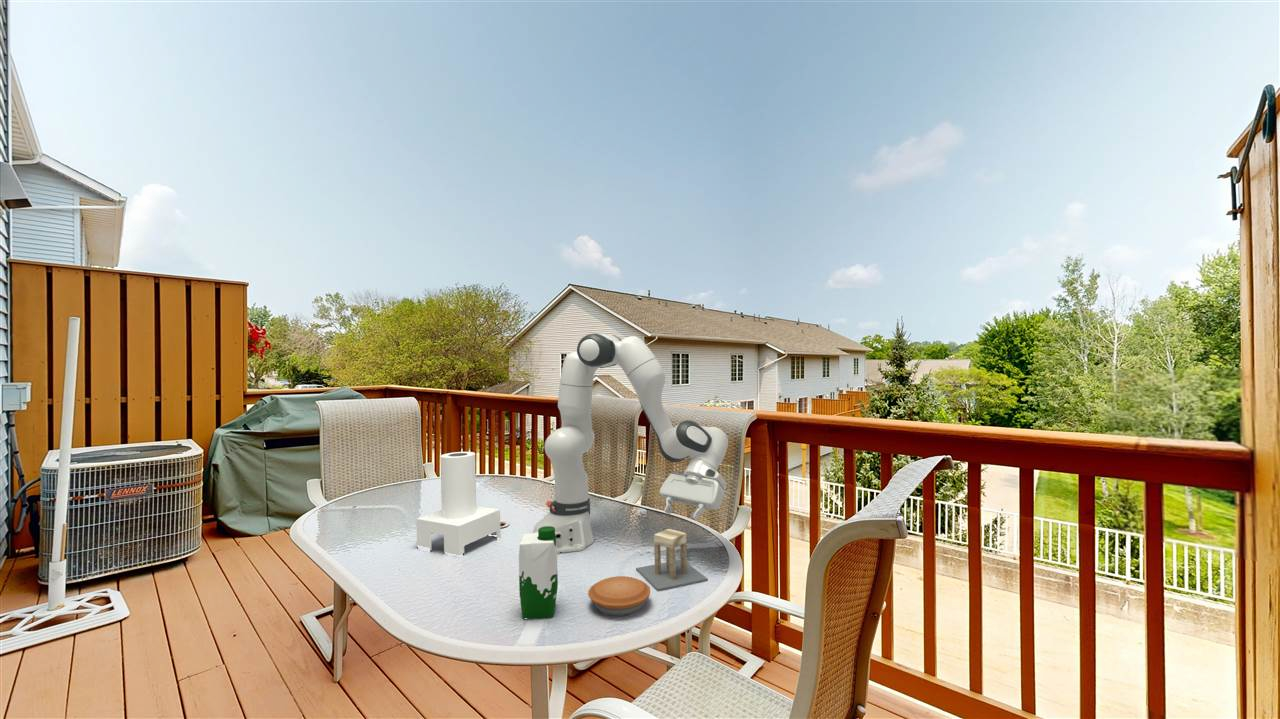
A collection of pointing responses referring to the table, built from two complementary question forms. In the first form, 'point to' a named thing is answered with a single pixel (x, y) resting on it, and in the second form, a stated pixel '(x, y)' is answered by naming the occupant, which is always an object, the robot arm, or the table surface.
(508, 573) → the table surface
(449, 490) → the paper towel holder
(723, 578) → the table surface
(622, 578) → the pie
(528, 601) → the milk carton
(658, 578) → the mat
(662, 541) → the stool
